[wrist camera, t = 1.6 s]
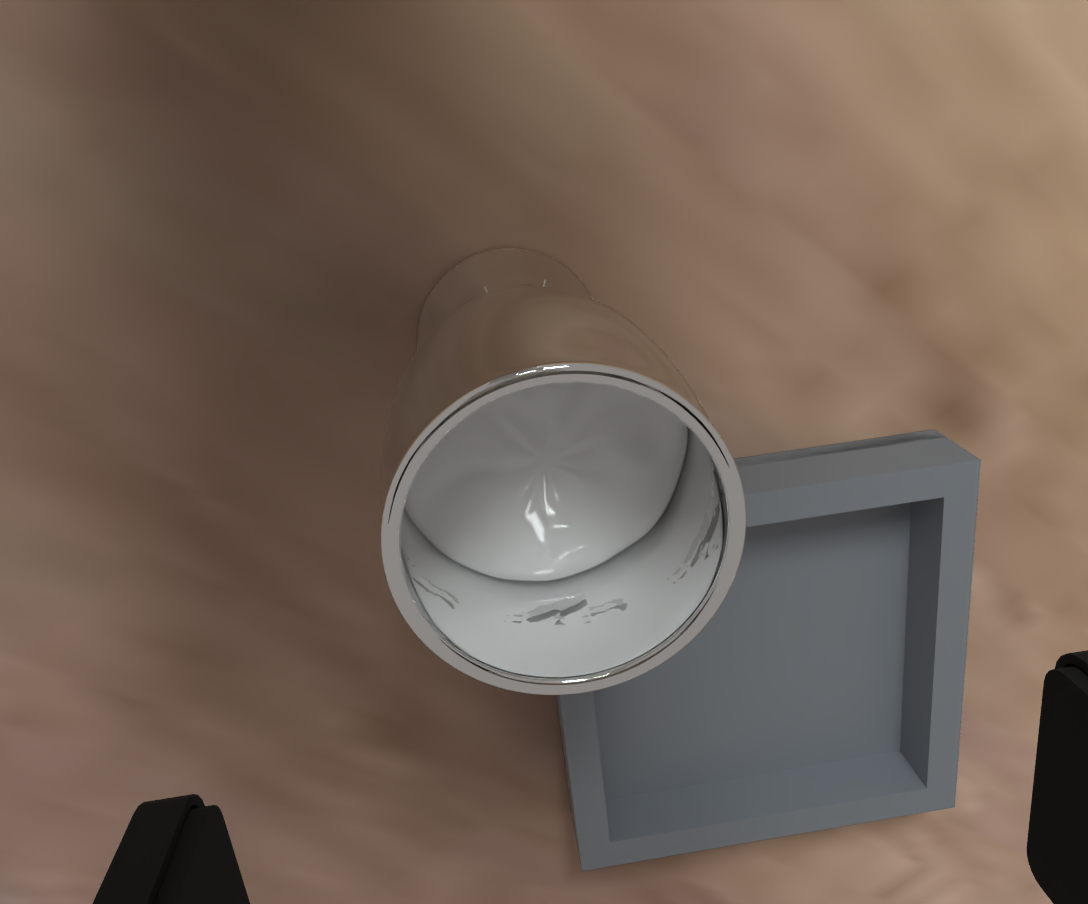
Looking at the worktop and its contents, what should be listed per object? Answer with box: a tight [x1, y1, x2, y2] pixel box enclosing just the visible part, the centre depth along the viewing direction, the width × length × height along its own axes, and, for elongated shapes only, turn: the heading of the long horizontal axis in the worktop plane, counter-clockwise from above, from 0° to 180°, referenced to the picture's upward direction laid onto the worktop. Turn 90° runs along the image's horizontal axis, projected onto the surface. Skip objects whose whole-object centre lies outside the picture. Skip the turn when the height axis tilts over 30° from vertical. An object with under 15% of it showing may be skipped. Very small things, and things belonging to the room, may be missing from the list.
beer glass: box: [380, 248, 746, 695], centre depth 23 cm, size 7×7×15 cm
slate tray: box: [556, 430, 981, 871], centre depth 33 cm, size 15×15×3 cm
